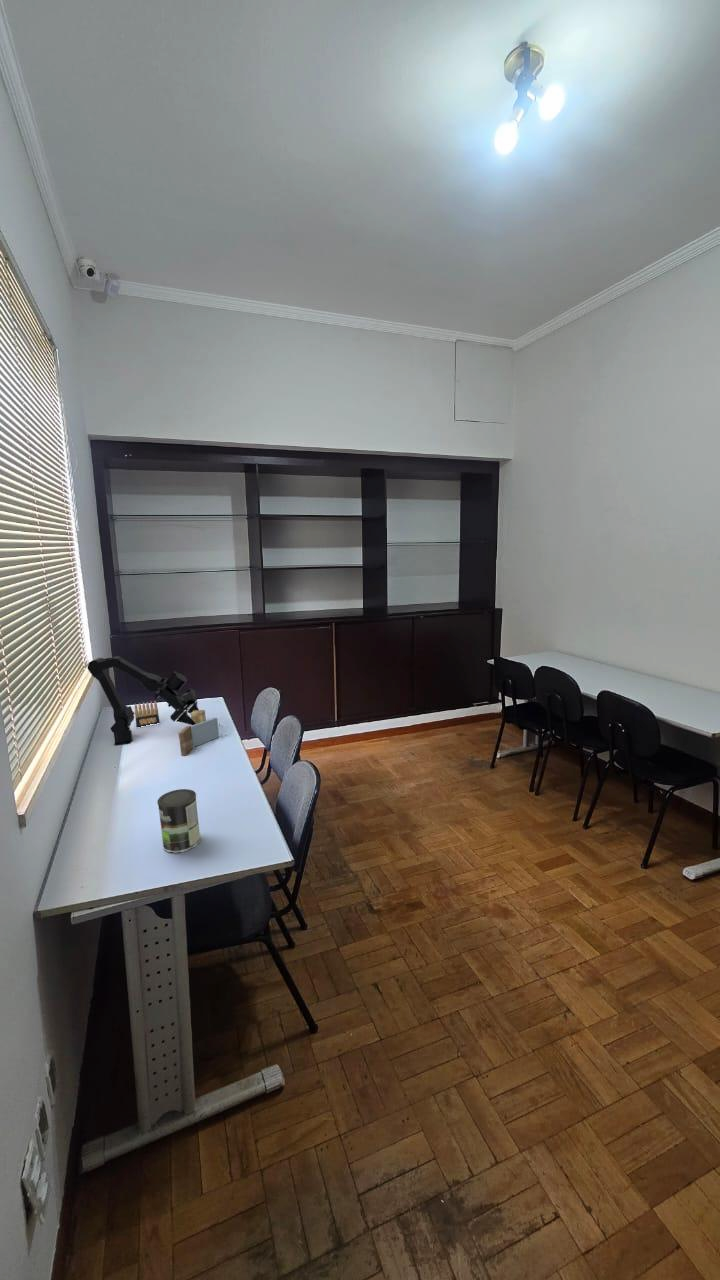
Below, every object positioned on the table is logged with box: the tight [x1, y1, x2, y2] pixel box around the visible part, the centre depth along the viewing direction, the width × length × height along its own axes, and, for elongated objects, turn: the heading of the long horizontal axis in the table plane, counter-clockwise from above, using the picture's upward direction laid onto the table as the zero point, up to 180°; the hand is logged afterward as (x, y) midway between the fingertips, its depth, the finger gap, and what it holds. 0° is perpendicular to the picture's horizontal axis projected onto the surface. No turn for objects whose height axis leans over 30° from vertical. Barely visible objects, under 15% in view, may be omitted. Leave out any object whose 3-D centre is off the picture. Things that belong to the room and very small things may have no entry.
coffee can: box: [157, 788, 201, 854], centre depth 146 cm, size 10×10×14 cm
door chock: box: [190, 709, 207, 724], centre depth 228 cm, size 5×4×12 cm
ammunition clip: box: [134, 700, 161, 728], centre depth 249 cm, size 11×2×12 cm, turn 113°
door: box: [190, 717, 220, 748], centre depth 223 cm, size 1×13×9 cm, turn 142°
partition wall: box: [178, 725, 194, 757], centre depth 213 cm, size 2×8×10 cm, turn 177°
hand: (198, 721), depth 228 cm, fingers open, 9 cm apart
